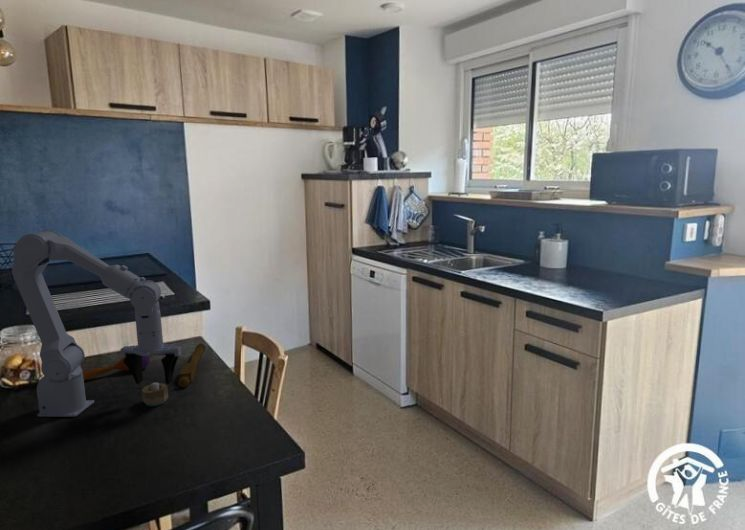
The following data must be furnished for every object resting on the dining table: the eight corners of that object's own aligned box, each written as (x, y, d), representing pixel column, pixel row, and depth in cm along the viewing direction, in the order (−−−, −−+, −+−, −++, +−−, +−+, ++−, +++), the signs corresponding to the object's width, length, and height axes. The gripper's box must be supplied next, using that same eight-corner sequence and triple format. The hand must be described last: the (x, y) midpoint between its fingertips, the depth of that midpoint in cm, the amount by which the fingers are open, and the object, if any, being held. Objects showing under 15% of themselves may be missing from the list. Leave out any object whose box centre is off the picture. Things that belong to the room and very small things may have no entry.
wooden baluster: (205, 342, 161) (188, 378, 132) (206, 351, 162) (189, 389, 133) (196, 343, 161) (176, 379, 132) (196, 352, 161) (177, 390, 132)
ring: (139, 404, 122) (138, 392, 121) (149, 394, 127) (148, 383, 127) (161, 404, 122) (160, 392, 121) (171, 394, 127) (170, 383, 127)
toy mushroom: (141, 406, 122) (139, 388, 122) (151, 397, 127) (149, 380, 127) (161, 406, 122) (159, 388, 121) (170, 397, 127) (168, 380, 126)
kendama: (69, 367, 139) (145, 346, 150) (74, 387, 139) (149, 365, 151) (71, 369, 134) (148, 348, 145) (76, 390, 134) (153, 368, 146)
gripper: (111, 335, 118) (117, 388, 120) (171, 335, 117) (175, 389, 120) (127, 326, 125) (132, 377, 127) (183, 326, 124) (187, 377, 127)
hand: (154, 382), depth 124 cm, fingers open, 7 cm apart
